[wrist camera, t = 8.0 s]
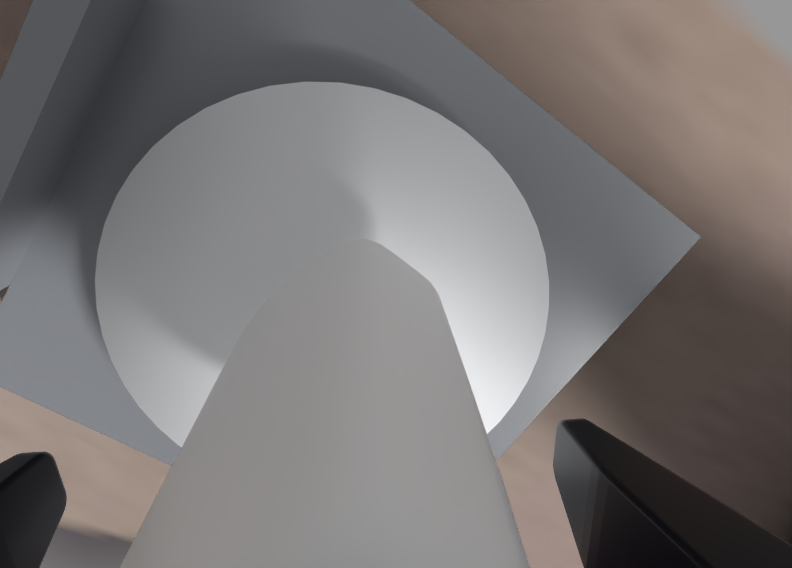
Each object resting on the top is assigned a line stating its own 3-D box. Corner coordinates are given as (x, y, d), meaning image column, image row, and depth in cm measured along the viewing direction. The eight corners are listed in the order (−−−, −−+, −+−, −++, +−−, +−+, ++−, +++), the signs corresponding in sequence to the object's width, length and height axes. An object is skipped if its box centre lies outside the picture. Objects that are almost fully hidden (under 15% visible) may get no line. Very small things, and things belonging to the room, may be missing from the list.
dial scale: (642, 211, 16) (755, 261, 11) (391, 501, 20) (399, 628, 15) (213, -132, 12) (121, -265, 8) (3, 306, 16) (-145, 396, 11)
